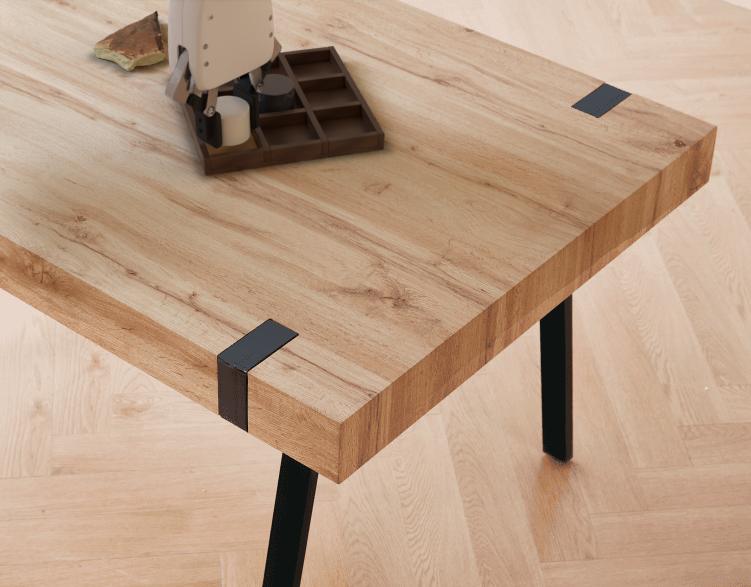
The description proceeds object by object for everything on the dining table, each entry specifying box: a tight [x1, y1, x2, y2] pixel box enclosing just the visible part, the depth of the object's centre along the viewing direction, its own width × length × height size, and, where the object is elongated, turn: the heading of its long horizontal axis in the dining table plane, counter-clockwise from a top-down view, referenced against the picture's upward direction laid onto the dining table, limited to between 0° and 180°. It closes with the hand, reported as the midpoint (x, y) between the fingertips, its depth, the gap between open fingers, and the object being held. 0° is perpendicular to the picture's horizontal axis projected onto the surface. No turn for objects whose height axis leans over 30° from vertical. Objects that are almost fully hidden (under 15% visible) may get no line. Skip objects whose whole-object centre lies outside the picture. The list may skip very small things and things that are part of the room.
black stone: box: [259, 74, 294, 114], centre depth 116 cm, size 4×4×3 cm
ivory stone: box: [216, 96, 250, 146], centre depth 109 cm, size 4×4×3 cm
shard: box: [93, 10, 167, 72], centre depth 126 cm, size 11×8×2 cm
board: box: [179, 45, 386, 176], centre depth 117 cm, size 19×19×2 cm
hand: (228, 131), depth 110 cm, fingers closed on ivory stone, 4 cm apart
